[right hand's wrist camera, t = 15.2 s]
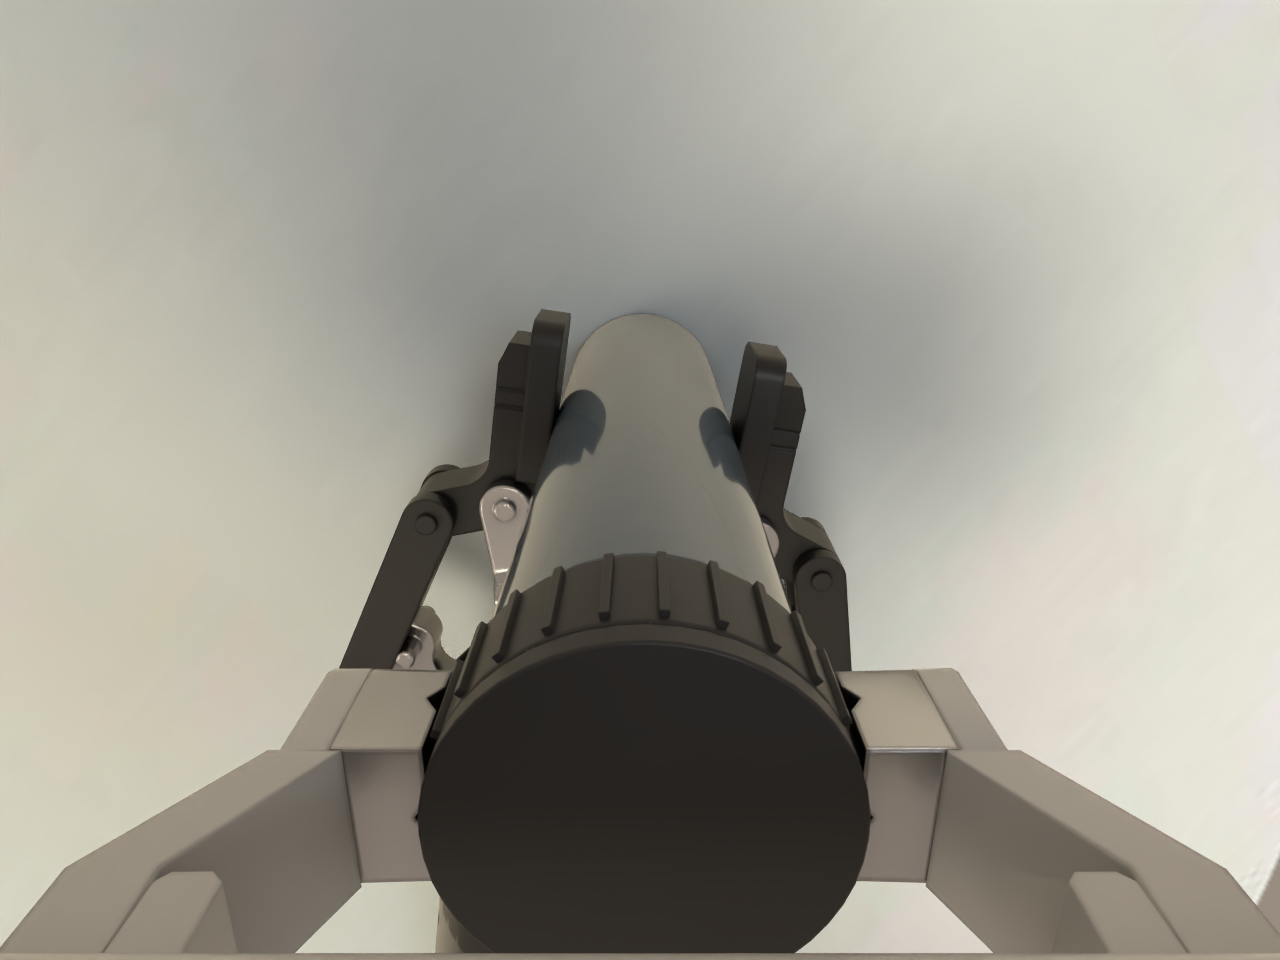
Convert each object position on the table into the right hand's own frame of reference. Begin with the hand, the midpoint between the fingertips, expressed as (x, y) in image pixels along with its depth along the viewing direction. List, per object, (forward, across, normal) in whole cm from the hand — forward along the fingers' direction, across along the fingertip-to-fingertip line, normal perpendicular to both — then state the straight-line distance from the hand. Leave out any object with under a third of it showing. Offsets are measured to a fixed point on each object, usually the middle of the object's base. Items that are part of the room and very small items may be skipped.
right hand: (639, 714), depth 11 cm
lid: (-2, 0, 0) cm, 2 cm away
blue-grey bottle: (+17, 0, 0) cm, 17 cm away
